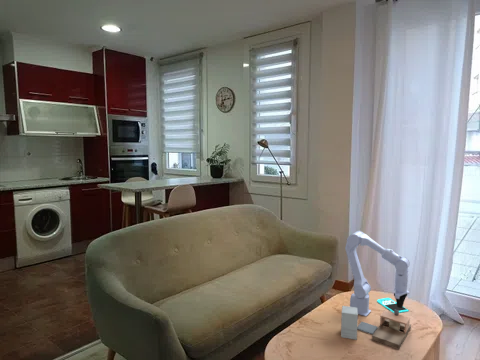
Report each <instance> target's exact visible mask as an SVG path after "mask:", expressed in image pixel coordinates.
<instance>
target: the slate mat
mask: <svg viewBox="0 0 480 360" xmlns="http://www.w3.org/2000/svg"><path fill="white" fill-rule="evenodd" d="M378 327H379V326H376V325H374V324H371V323H367V322H364V321H361V322H360V323H359V324H357V331H360V332H364V333H366V334H369V335H371V336H372V335H373V334H374V332H375V331H376V330H377V328H378Z"/></svg>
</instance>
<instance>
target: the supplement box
mask: <svg viewBox="0 0 480 360" xmlns="http://www.w3.org/2000/svg"><path fill="white" fill-rule="evenodd" d="M358 316H359V314H358V311H357V308H355V307H350V306H349V305H347V306H346V305H342V307H341V326H340V327H341V328H340V337H341V338H344V339H345V338H346V339H350V340H356V341H357V340H358V330H357V326H358V322H359V321H358V318H359V317H358Z"/></svg>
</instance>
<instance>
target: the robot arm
mask: <svg viewBox="0 0 480 360" xmlns="http://www.w3.org/2000/svg"><path fill="white" fill-rule="evenodd" d="M359 246H361V247H362V246H363V247H364V246H367V247H369V248H371V249H373V250H374V251H376V252H377V253H379V254H381V257H382V259H384V260H385V261H387V262H388V263H389V264H391V265H393V266H394V268H395V274H394V275H395V278H394V279H395V280H394V289H393V291H394V293H393V296H394V299H395V302H397V307H399V308H402V307H404V302H405V300H406V298H407V296H408V295H409V294H410V293H411V292H410V291H409V290H408V282H409V281H408V280H409V267H410V261H409V259H408V258H407V257H406V256H402V255H400V254H397V253H396V252H395V251H394V249H392V248H391V249H390V248H385V247H383V246H382V245H380V244H379V243H378V242H376V241H375V240H374V239H373V238H371V237H370V236H368V234H366V233H364V232H363V231H362V230H356V231H355V232H354V233H351V234H350V235H348V237H347V238H346V244H345V248H344V250H345V252H346V253H345V254H346V256H347V260H348V263H349V266H350V270H351V273H352V276H353V280H354V281H353V288H354V290H353V293H351V294H350V295H351V296H350V298H349V307H355V308H357V311H358V315H360V316H363V317H368V315H369V314H370V313H371V312H372V309H370V294H369V293H370V292H371V289H372V287H371V284H370V283H369V282H368V279H367V278H365V276H364V272H363V269H362V265H361V262H360V259H359V255H358V252H357V248H358V247H359Z"/></svg>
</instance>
